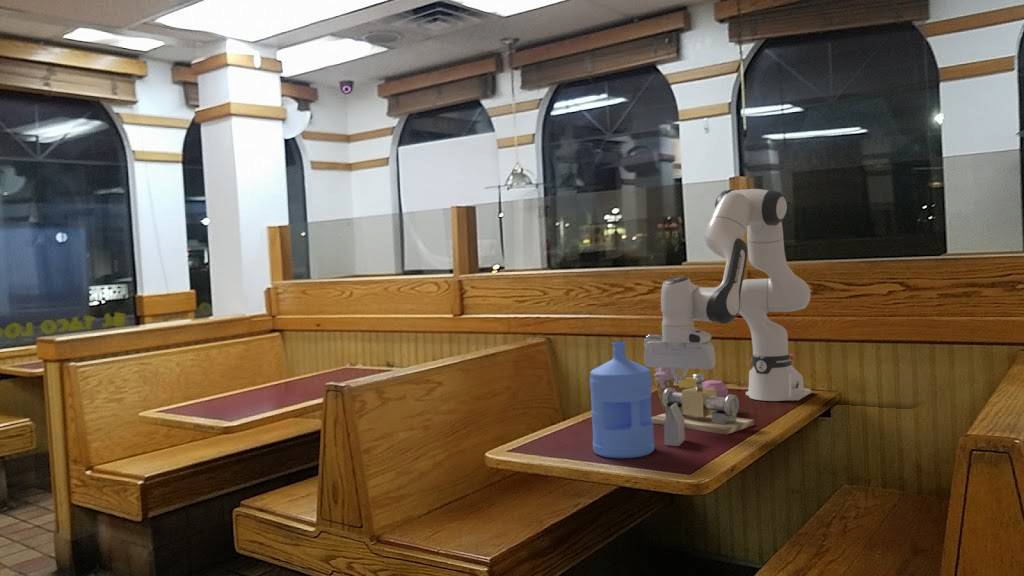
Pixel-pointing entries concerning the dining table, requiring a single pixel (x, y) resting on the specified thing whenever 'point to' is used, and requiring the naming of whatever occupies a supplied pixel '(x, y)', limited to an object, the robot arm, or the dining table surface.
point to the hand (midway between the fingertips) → (679, 383)
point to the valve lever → (691, 381)
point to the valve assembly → (704, 410)
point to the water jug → (621, 407)
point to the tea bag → (674, 427)
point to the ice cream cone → (663, 381)
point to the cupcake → (717, 387)
